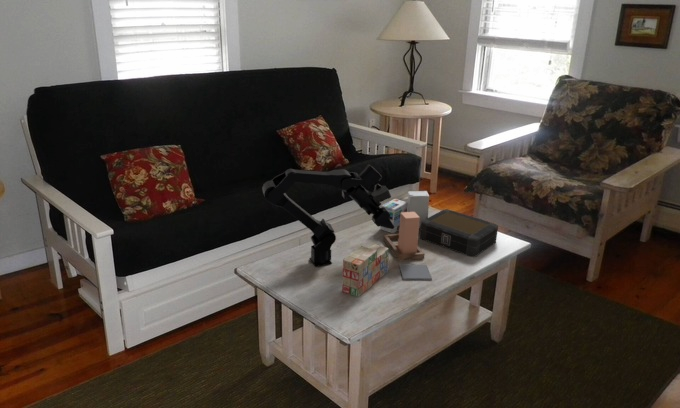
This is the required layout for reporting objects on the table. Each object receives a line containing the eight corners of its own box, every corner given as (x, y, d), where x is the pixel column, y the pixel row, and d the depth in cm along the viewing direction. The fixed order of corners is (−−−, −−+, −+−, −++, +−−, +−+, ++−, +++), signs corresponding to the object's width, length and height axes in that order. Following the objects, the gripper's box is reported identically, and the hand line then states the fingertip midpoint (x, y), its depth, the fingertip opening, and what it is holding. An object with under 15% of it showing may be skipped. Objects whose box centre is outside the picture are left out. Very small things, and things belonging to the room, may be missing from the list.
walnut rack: (399, 260, 208) (399, 256, 208) (383, 239, 225) (383, 234, 224) (424, 258, 211) (424, 253, 210) (406, 237, 227) (406, 232, 227)
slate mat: (403, 279, 195) (403, 278, 195) (399, 266, 205) (399, 264, 204) (431, 279, 196) (431, 278, 196) (426, 266, 205) (426, 264, 205)
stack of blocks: (372, 266, 204) (374, 235, 199) (388, 271, 201) (390, 240, 196) (341, 292, 187) (342, 259, 182) (358, 297, 184) (359, 264, 179)
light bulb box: (393, 233, 230) (394, 209, 226) (379, 229, 234) (380, 205, 230) (406, 225, 238) (408, 202, 234) (393, 221, 242) (394, 198, 238)
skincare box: (424, 223, 241) (427, 190, 236) (427, 228, 236) (430, 195, 230) (405, 222, 241) (407, 190, 235) (407, 228, 235) (410, 195, 230)
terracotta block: (402, 257, 211) (405, 218, 205) (397, 251, 216) (400, 212, 210) (416, 256, 212) (419, 217, 206) (411, 249, 217) (414, 211, 211)
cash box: (417, 239, 227) (418, 221, 224) (443, 224, 241) (445, 207, 238) (473, 259, 212) (475, 240, 209) (497, 242, 226) (500, 224, 223)
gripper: (386, 189, 191) (414, 217, 198) (370, 172, 208) (396, 198, 215) (363, 213, 192) (391, 239, 199) (348, 193, 209) (375, 218, 216)
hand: (389, 222), depth 207 cm, fingers open, 9 cm apart
